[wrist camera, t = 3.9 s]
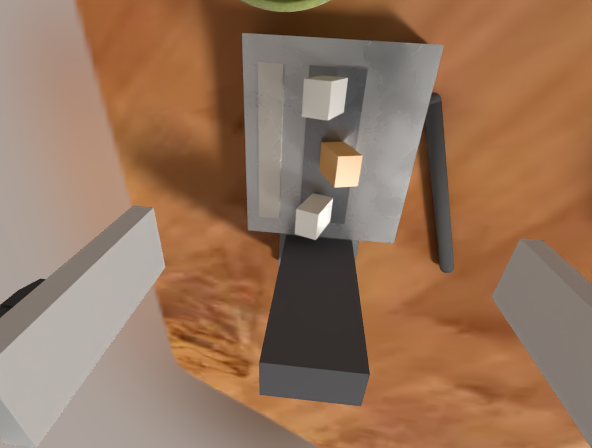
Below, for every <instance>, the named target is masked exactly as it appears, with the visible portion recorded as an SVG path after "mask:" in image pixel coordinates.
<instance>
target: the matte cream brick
mask: <svg viewBox="0 0 592 448" xmlns="http://www.w3.org/2000/svg"><path fill="white" fill-rule="evenodd" d="M332 203H333V198H332V197H328V196H324V195H320V194H315V193H312V194H311V195H310V196H309V197H308V198H307V199H306V200H305V201H304V202H303V203H302V204H301V205H300V206H299V207H298V208H297V209H296V222H295V234H296V235H300V236H303V237H307V238H310V239H313V240H316V239H317V238H318V237H319V235H320V234H321V233H322V231H323V230H324V229H325V228H326V226H327V225H328V224H329V222H330V219H331V211H332Z"/></svg>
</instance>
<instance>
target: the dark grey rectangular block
mask: <svg viewBox="0 0 592 448" xmlns="http://www.w3.org/2000/svg"><path fill="white" fill-rule="evenodd" d="M358 243H359V240H352V239H340V238H329V237H318V238H317V239H316V240H313V239H310V238H307V237H303V236H300V235H296V234H284V233H280V236H279V271H278V276H277V280H276V285H275V290H274V295H273V299H272V304H271V309H270V314H269V318H268V323H267V328H266V333H265V338H264V342H263V347H262V352H261V357H260V361H259V384H260V395H267V396H276V397H284V398H293V399H302V400H311V401H320V402H328V403H337V404H346V405H355V406H361V404H362V401H363V397H364V394H365V390H366V386H367V383H368V379H369V375H370V373H369V365H368V357H367V350H366V342H365V335H364V327H363V319H362V312H361V304H360V297H359V289H358V282H357V274H356V266H355V259H356V253H357V248H358Z"/></svg>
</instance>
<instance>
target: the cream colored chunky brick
mask: <svg viewBox="0 0 592 448" xmlns="http://www.w3.org/2000/svg"><path fill="white" fill-rule="evenodd" d="M347 82H348V78H345V77H335V76H325V75H322V76H317V77H311V78H305V79H304V87H303V104H302V117H307V118H314V119H320V120H327V121H328V120H330V119H332V118H334V117H336V116H338V115H340V114H342V113H343V112H344V106H345V98H346V90H347Z"/></svg>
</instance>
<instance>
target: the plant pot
mask: <svg viewBox="0 0 592 448" xmlns="http://www.w3.org/2000/svg"><path fill="white" fill-rule="evenodd" d="M241 1H243V2H245V3H247V4H249V5H252V6H255V7H257V8H261V9H264V10H269V11H277V12H294V11H301V10H307V9H310V8H314V7H317V6H319V5H322V4H324V3H327V2H329V1H331V0H241Z"/></svg>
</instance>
